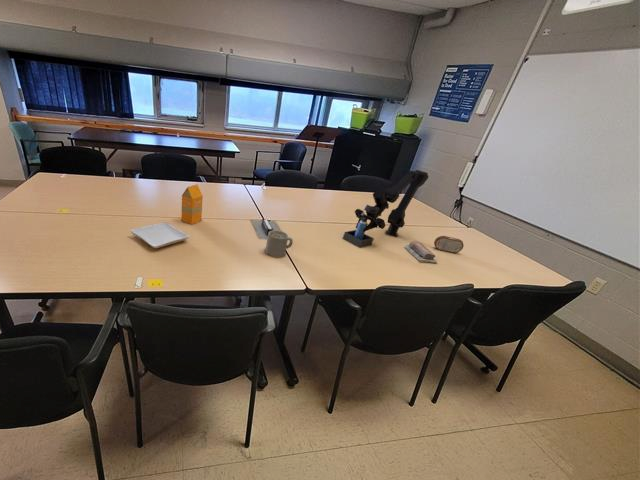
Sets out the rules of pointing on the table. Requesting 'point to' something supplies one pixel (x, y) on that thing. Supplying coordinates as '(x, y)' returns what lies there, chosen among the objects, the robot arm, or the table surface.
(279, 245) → the coffee mug
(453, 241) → the tin
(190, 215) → the orange juice
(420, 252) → the packaged product
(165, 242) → the salad plate
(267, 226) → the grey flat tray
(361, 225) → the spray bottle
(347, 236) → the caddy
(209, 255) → the table surface
